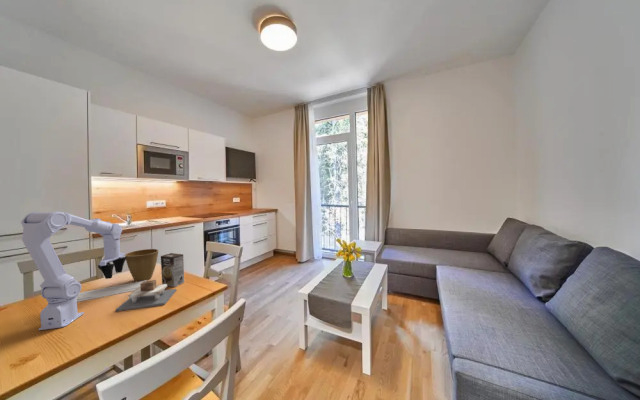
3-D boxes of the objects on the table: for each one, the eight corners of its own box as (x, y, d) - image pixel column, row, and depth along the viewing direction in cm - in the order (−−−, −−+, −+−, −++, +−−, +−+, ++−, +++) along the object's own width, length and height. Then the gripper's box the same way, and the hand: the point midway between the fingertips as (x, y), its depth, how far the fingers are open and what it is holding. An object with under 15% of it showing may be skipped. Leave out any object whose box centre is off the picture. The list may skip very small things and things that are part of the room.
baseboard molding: (143, 291, 112) (147, 282, 123) (143, 285, 112) (146, 277, 122) (54, 309, 96) (66, 298, 106) (53, 303, 96) (66, 292, 106)
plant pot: (147, 284, 119) (146, 255, 118) (119, 285, 118) (117, 256, 117) (165, 273, 134) (164, 248, 133) (140, 274, 133) (138, 248, 132)
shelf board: (128, 297, 96) (127, 287, 96) (138, 289, 104) (137, 280, 103) (159, 293, 99) (159, 283, 99) (167, 286, 107) (166, 277, 107)
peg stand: (164, 304, 97) (164, 296, 97) (116, 311, 92) (115, 302, 92) (176, 290, 111) (176, 283, 110) (134, 295, 106) (134, 287, 106)
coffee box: (161, 285, 117) (159, 256, 116) (172, 280, 123) (171, 252, 122) (174, 287, 115) (172, 257, 114) (185, 282, 121) (183, 253, 120)
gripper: (112, 251, 100) (114, 280, 101) (130, 243, 114) (132, 269, 115) (93, 252, 98) (95, 282, 99) (114, 244, 112) (116, 270, 113)
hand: (114, 275), depth 107 cm, fingers open, 7 cm apart
